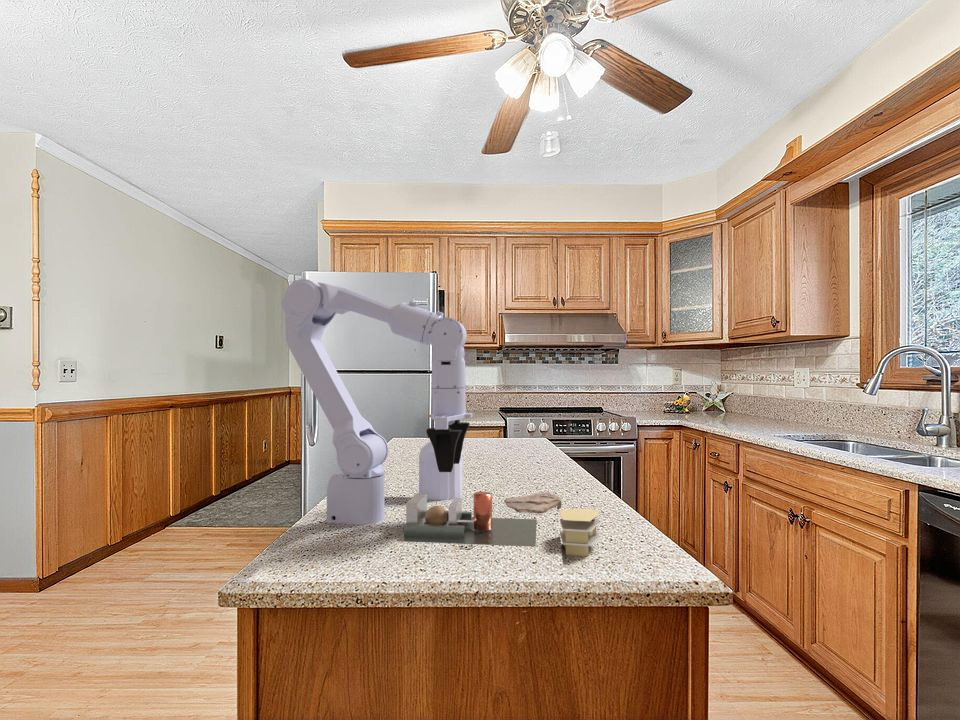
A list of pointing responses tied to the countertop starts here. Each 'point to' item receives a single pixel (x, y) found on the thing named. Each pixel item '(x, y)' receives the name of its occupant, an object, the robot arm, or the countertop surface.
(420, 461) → the soap bottle
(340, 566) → the countertop surface
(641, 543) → the countertop surface
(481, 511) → the ram
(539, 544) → the countertop surface
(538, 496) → the stone
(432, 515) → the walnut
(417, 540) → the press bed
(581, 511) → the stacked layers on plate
